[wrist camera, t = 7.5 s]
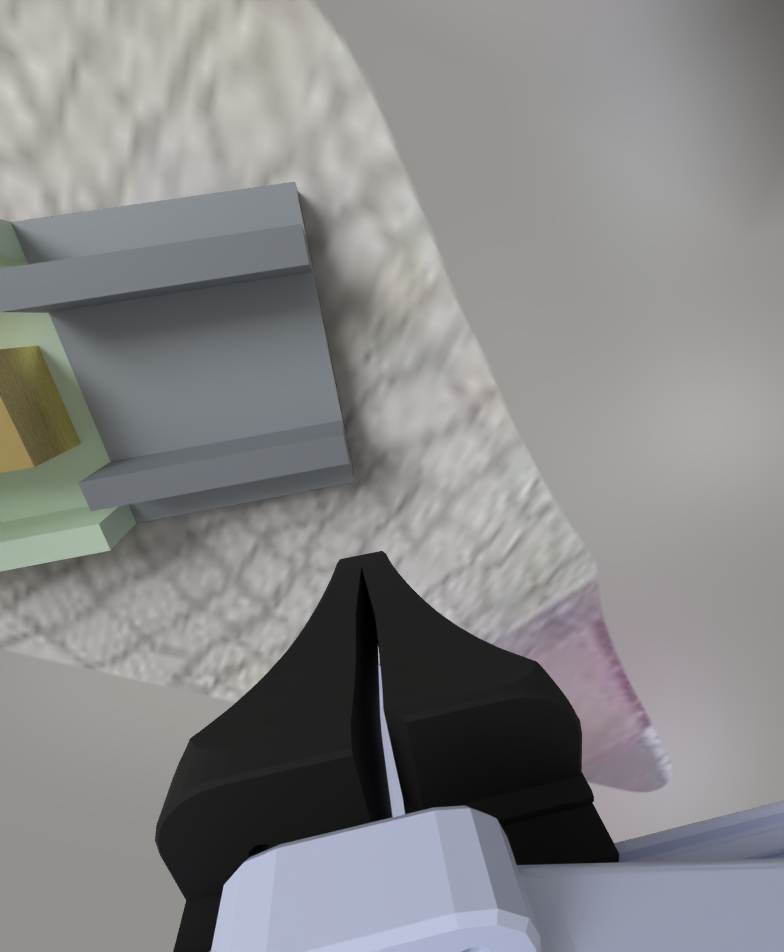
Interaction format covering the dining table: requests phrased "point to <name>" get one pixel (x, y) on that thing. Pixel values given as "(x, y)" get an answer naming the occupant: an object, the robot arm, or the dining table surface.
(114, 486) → the green and grey tray
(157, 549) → the dining table surface
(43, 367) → the chip
